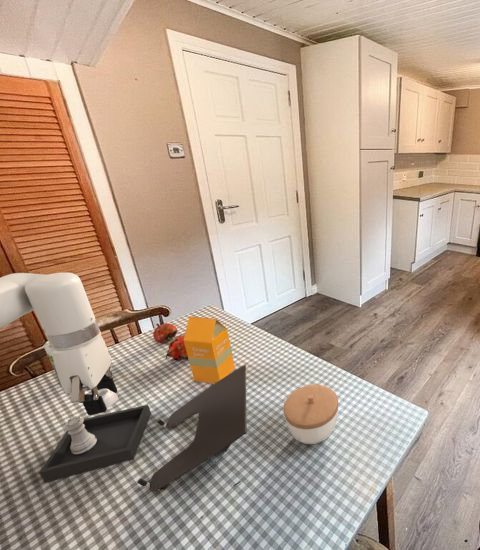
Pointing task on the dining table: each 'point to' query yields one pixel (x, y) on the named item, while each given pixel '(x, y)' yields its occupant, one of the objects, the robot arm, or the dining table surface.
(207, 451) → the laptop stand
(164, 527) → the dining table surface
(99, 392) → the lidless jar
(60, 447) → the black tray
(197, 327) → the orange juice
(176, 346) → the dragon fruit
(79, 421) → the rook chess piece
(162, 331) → the pomegranate
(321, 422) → the lidded bowl
